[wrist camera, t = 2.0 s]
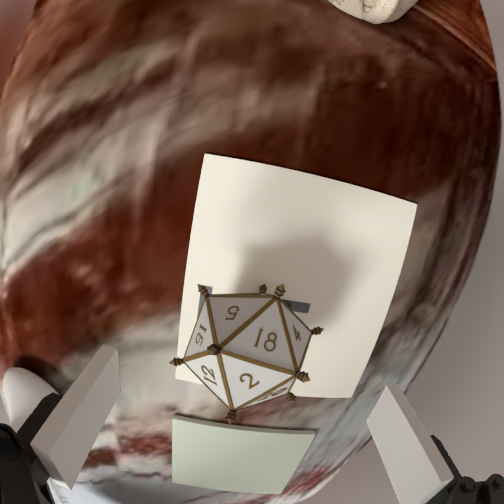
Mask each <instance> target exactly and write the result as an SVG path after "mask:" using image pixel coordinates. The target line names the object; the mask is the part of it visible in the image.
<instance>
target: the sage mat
mask: <svg viewBox="0 0 504 504" xmlns="http://www.w3.org/2000/svg"><path fill="white" fill-rule="evenodd" d="M315 435H316V433H315V431H312V430H283V429H268V428H257V427H247V426H238V425H229V424H223V423H217V422H210V421H205V420H199V419H194V418H188V417H184V416H179V415H174V416H173V429H172V482H173V483H178V484H183V485H188V486H194V487H200V488H206V489H213V490H221V491H230V492H241V493H257V494H281V493H282V491H283V489H284V488H285V486H286V485H287V483H288V482H289V480H290V479H291V477H292V475H293V474H294V472H295V470H296V469H297V467H298V465H299V464H300V462H301V460H302V459H303V457H304V455H305V453H306V452H307V450H308V448H309V446H310V444H311V443H312V441H313V439H314V437H315Z"/></svg>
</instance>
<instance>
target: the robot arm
mask: <svg viewBox="0 0 504 504" xmlns="http://www.w3.org/2000/svg"><path fill="white" fill-rule="evenodd" d="M120 392H121V384H120V373H119V360H118V349H117V348H114V347H110V346H107V345H104V344H103V345H102V347H101V348H100V349H99V350H98V352H97V353H96V354H95V355H94V357H93V358H92V359H91V361H90V362H89V363H88V364H87V366H86V367H85V368H84V370H83V371H82V372H81V373H80V375H79V376H78V377H77V379H76V380H75V381H74V383H73V384H72V385H71V387H70V388H69V389H68V391H67V392H66V393H65V395H64V396H60V395H58V394H56V393H54V392H52V393H51V394H49V395H47V396H45V397H44V398H43V399H42V400H41V401H40V403H39V404H38V405H37V407H36V408H35V409H34V410H33V412H32V414H30V416H29V417H28V418H27V419H26V421H25V422H24V423H23V425H22V426H21V427H20V429H19V430H18V432H17V433H16V432H15V431H14V430H13V428H12V427H10V426H9V425H7V424H2V423H0V504H55V502H54V499H53V497H52V494H51V491H50V488H49V485H48V483H47V480H48V478H49V476H50V477H51V479H52V480H53V481H54V482H55V483H56V484H58V485H60V486H62V487H64V488H66V489H69V490H71V489H72V487H73V485H74V483H75V481H76V479H77V477H78V475H79V472H80V470H81V468H82V466H83V464H84V462H85V460H86V458H87V456H88V454H89V452H90V450H91V448H92V446H93V444H94V442H95V440H96V438H97V436H98V434H99V432H100V430H101V428H102V426H103V424H104V422H105V420H106V418H107V417H108V415H109V413H110V411H111V409H112V407H113V405H114V403H115V401H116V400H117V398H118V396H119V394H120ZM366 423H367V426H368V428H369V430H370V433H371V435H372V437H373V440H374V442H375V444H376V447H377V449H378V451H379V454H380V456H381V458H382V461H383V463H384V466H385V468H386V471H387V473H388V476H389V478H390V481H391V483H392V485H393V488H394V491H395V493H396V496H397V498H398V501H399V503H400V504H504V478H503V477H502V476H501V475H499V474H493V475H491V476H490V477H489V478H488V479H487V480H486V481H481V482H475V481H474V480H473V479H472V478H470V477H465V476H464V477H462V476H461V475H460V473H459V471H458V470H457V468H456V466H455V465H454V463H453V461H452V460H451V458H450V456H448V453H447V451H446V450H445V448H444V446H443V445H442V443H441V441H440V440H438V439H437V438H436V437H435V436H434V435H429V433H428V432H427V430H426V428H425V427H424V425H423V424H422V422H421V421H420V419H419V417H418V416H417V414H416V412H415V411H414V409H413V408H412V406H411V405H410V403H409V402H408V400H407V398H406V397H405V395H404V394H403V392H402V390H401V389H400V387H399V386H398V385H386V387H385V389H384V391H383V393H382V395H381V396H380V398H379V400H378V402H377V403H376V405H375V407H374V409H373V410H372V412H371V414H370V415H369V417H368V419H367V420H366Z"/></svg>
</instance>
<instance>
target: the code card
mask: <svg viewBox="0 0 504 504" xmlns="http://www.w3.org/2000/svg"><path fill="white" fill-rule="evenodd" d="M416 208H417V204H415V203H412V202H409V201H405V200H402V199H399V198H396V197H393V196H390V195H386V194H383V193H380V192H377V191H373V190H370V189H366V188H363V187H359V186H356V185H352V184H348V183H345V182H341V181H337V180H333V179H329V178H325V177H321V176H317V175H313V174H309V173H304V172H300V171H296V170H291V169H286V168H282V167H277V166H272V165H267V164H262V163H257V162H252V161H246V160H241V159H235V158H229V157H223V156H217V155H211V154H205V155H204V161H203V166H202V171H201V176H200V182H199V188H198V193H197V199H196V205H195V211H194V217H193V224H192V230H191V237H190V244H189V251H188V258H187V266H186V273H185V281H184V290H183V299H182V308H181V317H180V328H179V339H178V350H177V358H178V357H179V358H183V357H184V354H185V351H186V349H187V346H188V343H189V340H190V337H191V335H192V332H193V329H194V326H195V324H196V321H197V318H198V315H199V313H200V310H201V307H202V304H203V302H204V299H205V297H204V296H203V295H201V293H200V292H198V291H199V290H198V284H200V285H203V286H206V289H208V290H207V291H208V293H209V294H238V293H260V291H259V289H260V288H259V287H260V286H262V285H263V284H264V283H265V285H266V287H267V290H266V294H272V295H275V293H274V292H275V290H276V287H277V286H280V285H282V284H283V283H284V287H285V291H286V292H284V296H281V297H280V298H281V299H282V301H283V302H284V303H285V304H286V305H287V306H288V307H289V308H290V309H291V310H292V311H293V312H294V313H295V314H296V315H297V316H298V317H299V318H300V319H301V320H302V321H303V322H304V323H305V324H306V325H307V327H308V328H309V329H310V330H312V329H314V327H315V328H316V327H317V326H319V327H321V328H323V329H324V330H323V331H322V332H321V334H317V335H312V337H311V340H310V343H309V346H308V350H307V353H306V356H305V359H304V362H303V365H302V368H301V371H300V372H303V371H304V372H305V373H308V376H309V378H310V380H311V381H307V382H304V383H303V382H302V381H300V380H298V379H296V381H295V383H294V385H293V387H292V388H291V390H290V392H292V393H293V394H294V395H295V396H304V397H326V398H351V397H352V395H353V393H354V391H355V389H356V387H357V385H358V382H359V380H360V378H361V376H362V374H363V372H364V369H365V367H366V365H367V363H368V360H369V358H370V356H371V353H372V351H373V348H374V346H375V344H376V341H377V339H378V336H379V333H380V331H381V328H382V326H383V323H384V320H385V317H386V315H387V312H388V309H389V306H390V303H391V300H392V297H393V294H394V291H395V288H396V285H397V282H398V279H399V275H400V272H401V269H402V265H403V262H404V258H405V254H406V251H407V247H408V243H409V239H410V235H411V231H412V226H413V222H414V217H415V213H416ZM175 379H180V380H184V381H189V382H194V383H200V384H203V383H202V382H201V381H200V380H199V379H198V378H197V377H196V375H195V374H194V373H193V372H192V371H191V370H190V369H189V368H188V367H187V366H186V365H185V364H181V366H179V365H178V366H177V367H176V378H175Z"/></svg>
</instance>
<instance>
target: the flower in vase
mask: <svg viewBox="0 0 504 504" xmlns="http://www.w3.org/2000/svg"><path fill="white" fill-rule="evenodd" d="M3 390H4V396H5V400H6V404H7V407H8V410H9V414H10V420H11V423H10V427H12V428H13V430H14V431H15V432H16V433H17V432H18V430H19V429H20V427H21V426H22V425H23V423H24V422H25V421H26V419H27V418H28V417H29V416H30V414H32V412H33V410H34V409H35V408H36V407H37V405H38V404H39V403H40V401H41V400H42V399H43V398H44V397H45V396H47V395H49V394H51V393H52V392H54V393H56V394H58V393H57V391H56V390H55V389H54V388H52V387H51V386H50V385H49V384H48V383H47V382H46V381H44V380H43V379H42V378H40V377H39V376H38V375H36V374H34V373H33V372H31V371H29V370H27V369H24V368H18V367H12V368H9V369H7V370H6V372H5V375H4V378H3ZM58 395H59V394H58Z"/></svg>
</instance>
